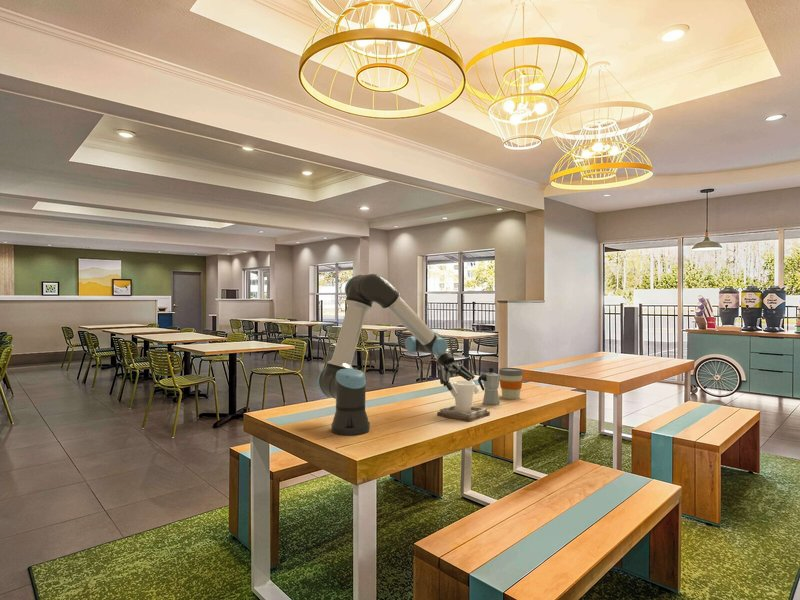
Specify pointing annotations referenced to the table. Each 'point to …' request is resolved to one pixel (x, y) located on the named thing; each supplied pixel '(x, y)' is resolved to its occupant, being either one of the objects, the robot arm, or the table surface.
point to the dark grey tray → (473, 415)
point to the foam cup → (464, 395)
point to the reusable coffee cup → (510, 382)
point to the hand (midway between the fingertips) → (466, 393)
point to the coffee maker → (490, 387)
